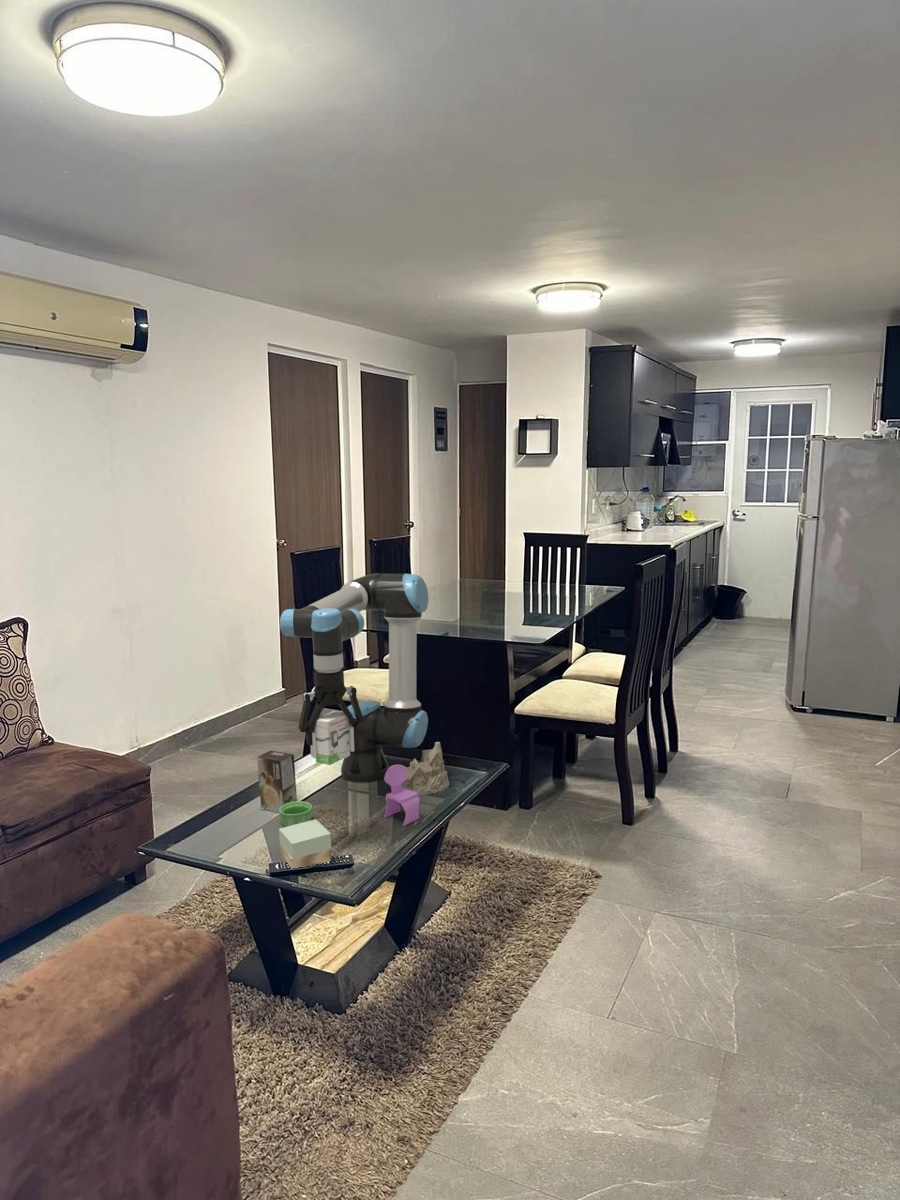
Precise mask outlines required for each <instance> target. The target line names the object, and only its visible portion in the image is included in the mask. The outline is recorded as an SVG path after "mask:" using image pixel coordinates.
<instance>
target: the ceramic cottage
mask: <svg viewBox="0 0 900 1200" xmlns="http://www.w3.org/2000/svg"><path fill="white" fill-rule="evenodd" d="M405 767H406V766H405ZM406 768H407V777H406V780H405V781H404V782H403V783H402V784H401V788H405V789H408V790H410V791H413V792H416V793H418V796H425V795H426V796H427V795H431V794H430V793H434V794H436V793H435V792H438V791H442V790H444V789H446V788H447V787H448V786H449V785H451V784H450V780H449V776H448V771H447V770H445V761H444V759H443V751H442V745H441V741H436V742H434V747H433V748H432V749H423V750H422V751H421V758H420V762H419V761H418V760H417V758H413V760H412V761H410V762H409V766H407V767H406Z"/></svg>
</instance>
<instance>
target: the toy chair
mask: <svg viewBox="0 0 900 1200" xmlns="http://www.w3.org/2000/svg"><path fill="white" fill-rule="evenodd" d="M406 777H407V768H406V766H405V765H403V764H393V765H390V766H388V770H387V772H386V774H385V777H383V778H384V782H385V783H386V784H387V785H389V787H390V789H391V792H388V793H386V794H385V796H386V797H385V803H386V810H385V812H384V815H383V816H382V817H383V819H386V818H387V817H390V816H392V815H394V814H397V813H399V812H401V806H402V808H403V810H404V812H405V813H404V814H405V818H404V821H403V823H402V826H403V827H404V826H406V825H410V824H411V823H413V822H415V821H417V820H419V819H421V818H420V813H419V806H420V797H419V795H418V793H416V792H413V791H410V790H408V789H405V788H401V784H402V783H403V782H404V781H405V780H406ZM400 805H401V806H400Z"/></svg>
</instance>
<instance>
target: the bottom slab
mask: <svg viewBox="0 0 900 1200" xmlns="http://www.w3.org/2000/svg"><path fill="white" fill-rule="evenodd" d="M279 851H280V858H281V859H282V862H284V861H285V862H287V863H288V864H289V866H290V867H291V869H293V868H298V867H306V866H312V865H316V864H322V863H325V862H330V861H332V860H331V849H328V850H325V851H321V852H318V853H314V854H310V855H307V856H303V857H300V858H296V859H292V857H291V856H290V855H289V854H288V853H287V851H286V850H285V849H284V848H283V847H282V845H281V844H280V843H279ZM285 862H284V863H285Z"/></svg>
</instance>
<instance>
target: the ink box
mask: <svg viewBox="0 0 900 1200" xmlns="http://www.w3.org/2000/svg"><path fill="white" fill-rule="evenodd" d="M313 732H315V734H316V754H317V758H315V763H317V764H322V765H327V766H332V765H333V764H336V763H338V762H339V761H343V760H344V758H346V757H348V756H350V743H349V720H348V718H347V716H346V714H344V713H343V711H338V710H332V711H330V712H327V713H325V714H321V715H320V716H319V719H318V720H317V723H316V725H315V727H314V730H313Z"/></svg>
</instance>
